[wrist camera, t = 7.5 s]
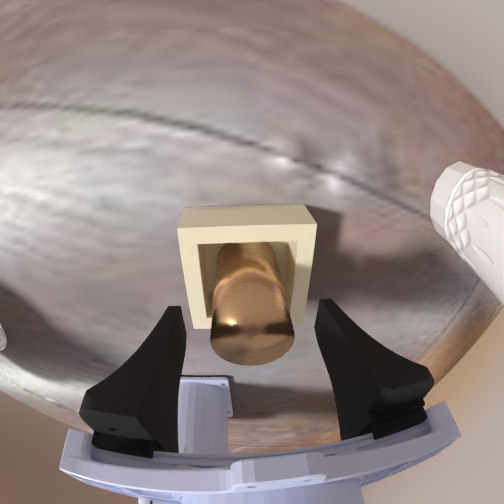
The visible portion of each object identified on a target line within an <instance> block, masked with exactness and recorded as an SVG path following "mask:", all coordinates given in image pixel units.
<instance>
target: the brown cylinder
mask: <svg viewBox="0 0 504 504" xmlns="http://www.w3.org/2000/svg"><path fill="white" fill-rule="evenodd" d="M294 336H295V335H294V330H293V325H292V321H291V317H290V313H289V308H288V304H287V300H286V296H285V292H284V288H283V283H282V279H281V275H280V271H279V267H278V263H277V259H276V255H275V252H274V250H273V248H272V247H271V246H270V245H269V244H268V243H267V242H243V243H226V244H224V245H223V247H222V248H221V249H220V251H219V253H218V256H217V264H216V275H215V286H214V297H213V310H212V323H211V337H210V341H211V346H212V348H213V350H214V351H215V353H216V354H217V355H219V356H220V357H221V358H223V359H224V360H226V361H229V362H231V363H234V364H239V365H261V364H265V363H269V362H272V361H274V360H276V359H278V358H280V357H281V356H283V355H284V354H285V353H286V352H287V351H288V350H289V349H290V348H291V346H292V344H293V342H294Z"/></svg>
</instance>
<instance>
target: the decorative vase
mask: <svg viewBox="0 0 504 504" xmlns="http://www.w3.org/2000/svg"><path fill="white" fill-rule="evenodd" d="M6 344H7V339H6V335H5V332H4V330H3V328H2V326H1V324H0V351H2V350H4V348H5V347H6Z"/></svg>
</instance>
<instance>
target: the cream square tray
mask: <svg viewBox="0 0 504 504" xmlns="http://www.w3.org/2000/svg"><path fill="white" fill-rule="evenodd" d="M316 229H317V223H316V222H315V220H314V219H313V217H312V216H311V214H310V213H309V211H308V210H307V208H306V207H305V205H304V204H286V205H237V206H211V207H190V208H185V210H184V212H183V215H182V217H181V220H180V222H179V225H178V227H177V232H178V239H179V246H180V253H181V259H182V266H183V272H184V278H185V284H186V290H187V295H188V301H189V306H190V311H191V316H192V322H193V326H194V329H204V328H211V323H212V310H213V297H214V286H215V275H216V264H217V256H218V253H219V251H220V249H221V248H222V247H223V245H224V244H226V243H243V242H267V243H268V244H269V245H270V246H271V247H272V248H273V250H274V252H275V255H276V259H277V263H278V267H279V271H280V275H281V279H282V283H283V288H284V292H285V296H286V300H287V304H288V308H289V313H290V317H291V321H292V324H302V323H303V320H304V314H305V308H306V302H307V296H308V289H309V282H310V276H311V268H312V261H313V254H314V246H315V237H316Z"/></svg>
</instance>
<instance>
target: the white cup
mask: <svg viewBox="0 0 504 504" xmlns="http://www.w3.org/2000/svg"><path fill="white" fill-rule="evenodd" d="M430 217H431V220H432V223H433V226H434V228H435V230H436V231H437V232H438V233H439V234H440V235H442V236H443V237H444V238H445V239H446V240H447V241H448V242H449V243H450V244H451V245H452V246H453V247H454V249H455V251H456V252H457V253H458V254H459V255H460V256H461V258H462V259H463V260H464V261H465V262H466V263H467V264H468V265H469V266H470V267H471V269H472V270H473V271H474V272H475V273H476V274H477V276H478V277H479V278H480V279H481V280H482V281H483V282H484V283H485V285H486V286H487V287H488V288H489V289H490V290H491V292H492V293H493V294H494V295H495V296H496V298H497V299H498V300H499V301H500V303H501V304H502V305H503V307H504V175H502V174H499V173H496V172H494V171H492V170H489V169H483V168H481V167H478V166H476V165H473V164H470V163H466V162H460V161H458V162H456V163H454V164H452V165H450V166H448V167H447V168H446V169H445V170H444V171H443V173H442V174H441V175H440V177H439V178H438V179H437V181H436V184H435V187H434V189H433V192H432V195H431V198H430Z"/></svg>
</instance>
